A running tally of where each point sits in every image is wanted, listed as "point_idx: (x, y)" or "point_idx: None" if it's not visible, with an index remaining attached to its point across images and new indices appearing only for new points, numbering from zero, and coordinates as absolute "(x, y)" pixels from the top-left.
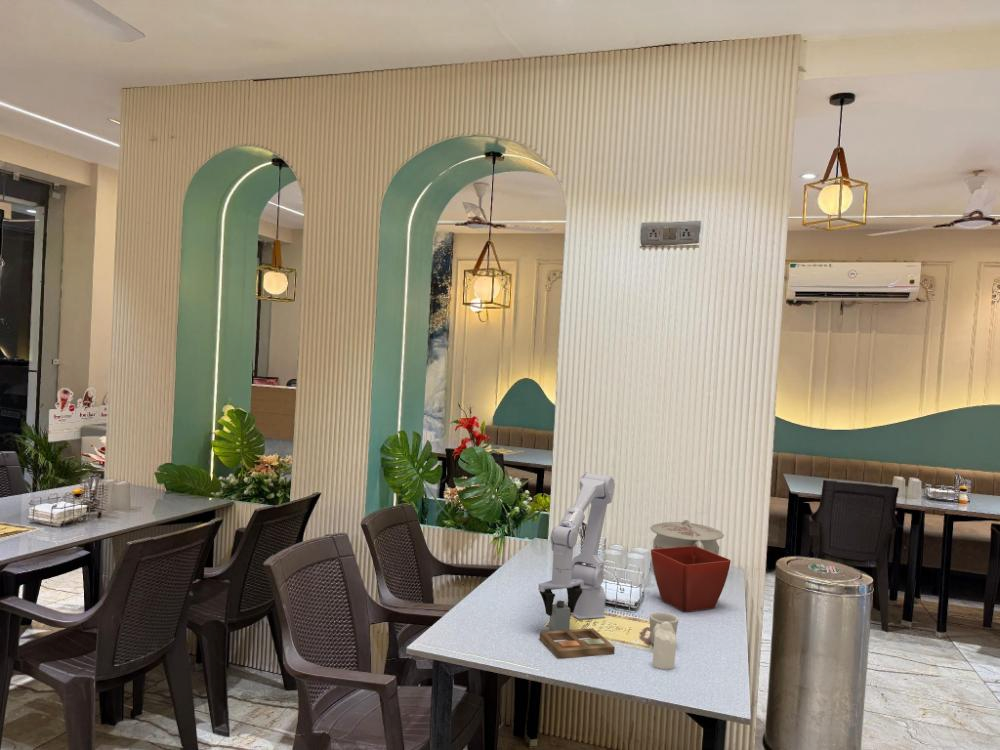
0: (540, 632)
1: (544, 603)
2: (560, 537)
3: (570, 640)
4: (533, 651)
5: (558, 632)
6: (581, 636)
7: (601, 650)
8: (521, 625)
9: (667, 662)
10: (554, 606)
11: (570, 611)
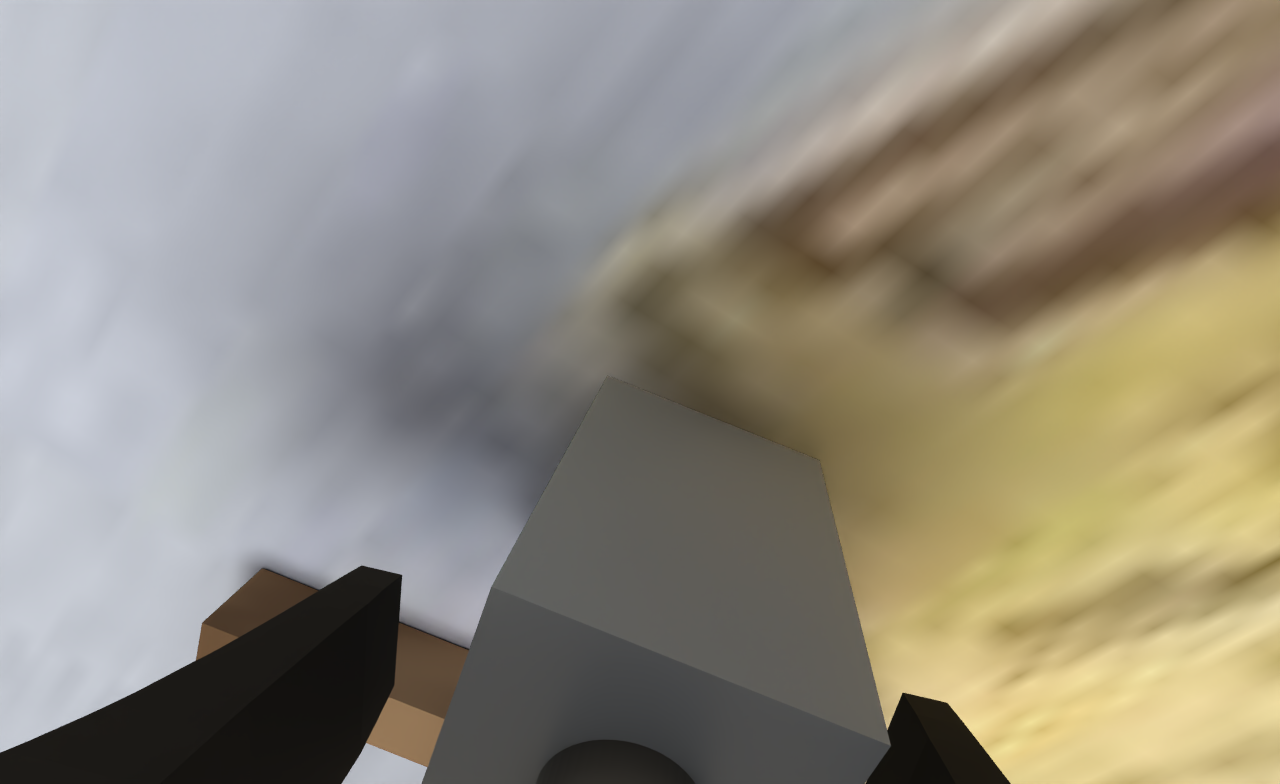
0: (203, 635)
1: (160, 697)
2: None
3: None
4: (58, 726)
5: (416, 757)
6: None
7: None
8: (281, 54)
9: None
10: (501, 725)
11: (874, 781)
